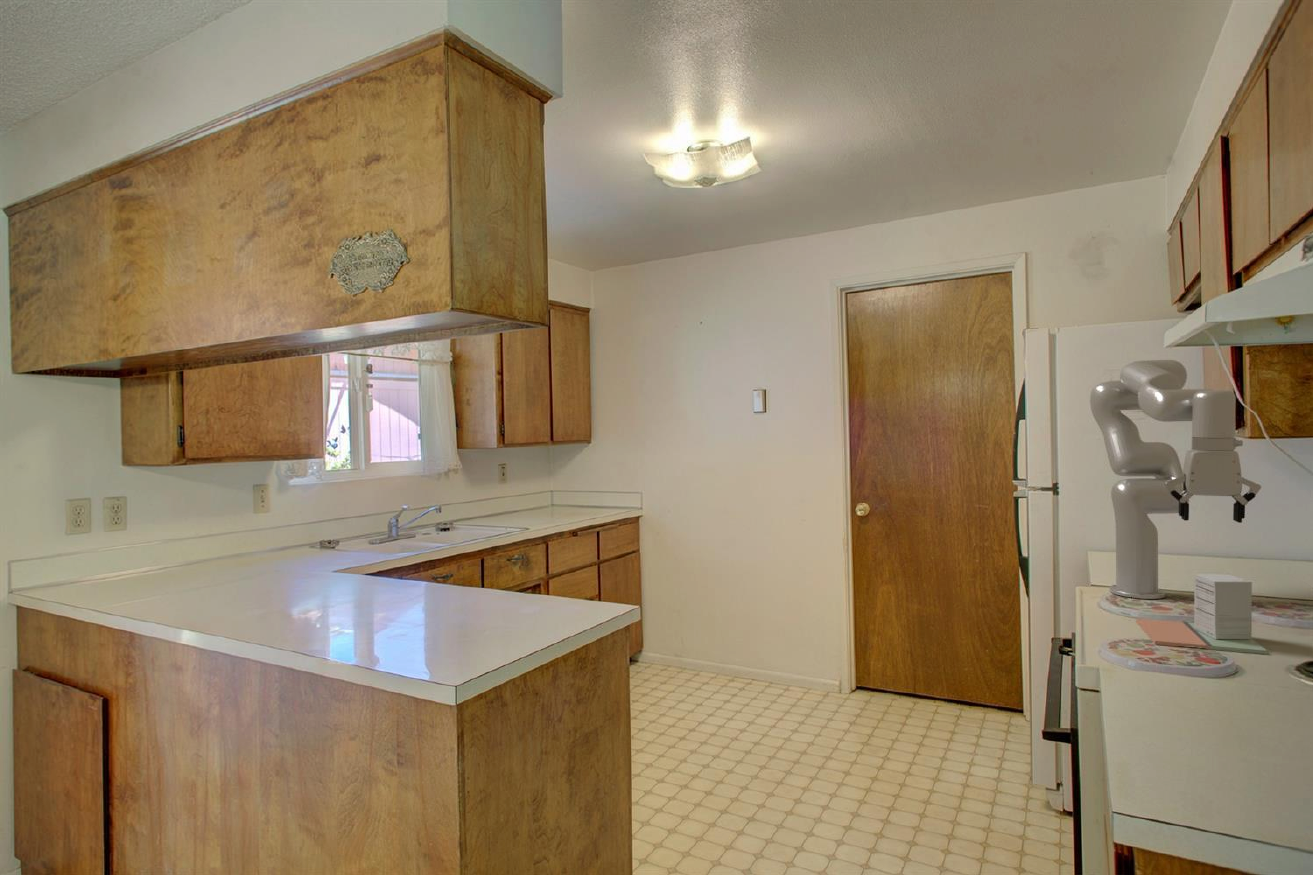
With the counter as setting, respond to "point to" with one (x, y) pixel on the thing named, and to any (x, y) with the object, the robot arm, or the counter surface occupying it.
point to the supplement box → (1223, 606)
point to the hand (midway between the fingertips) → (1210, 520)
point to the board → (1193, 637)
